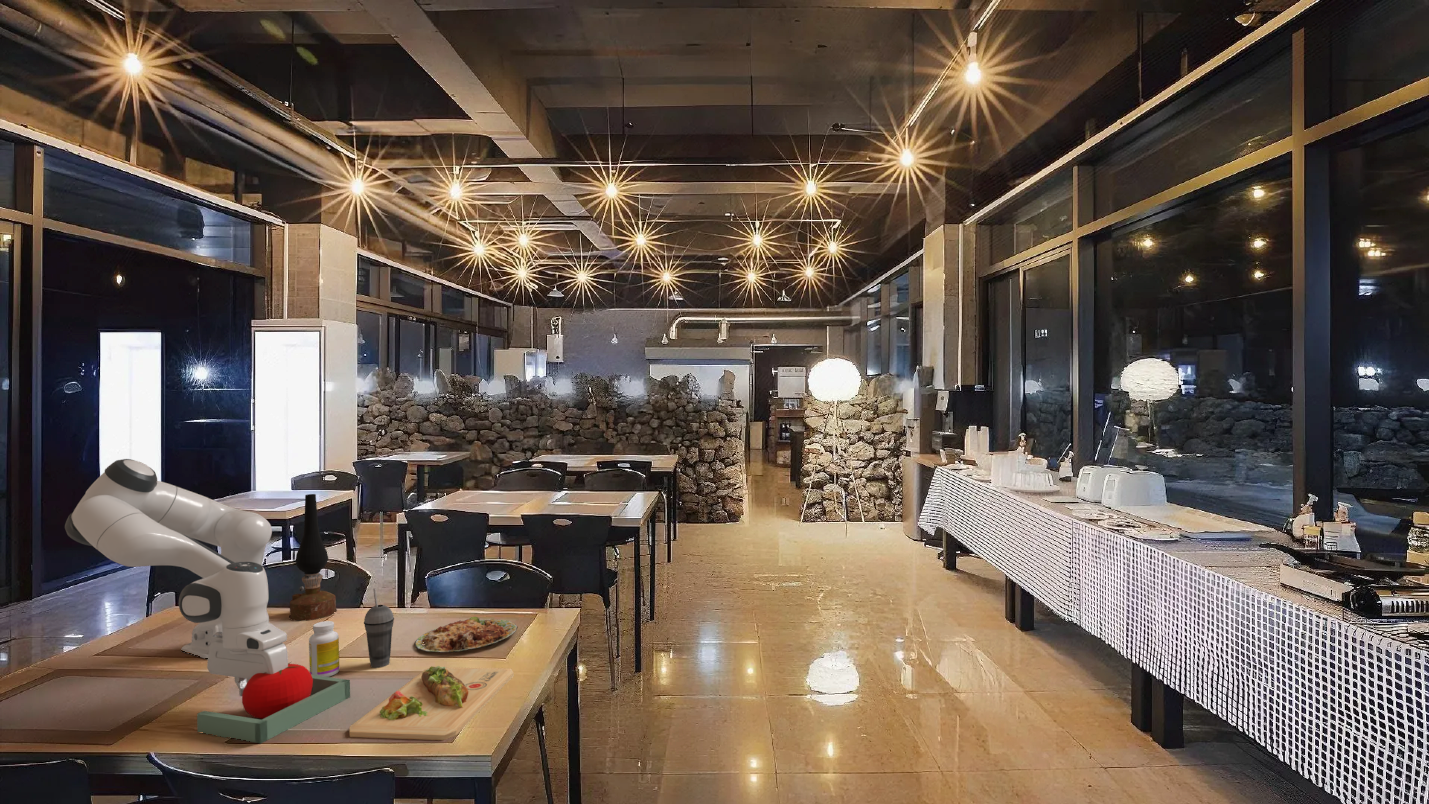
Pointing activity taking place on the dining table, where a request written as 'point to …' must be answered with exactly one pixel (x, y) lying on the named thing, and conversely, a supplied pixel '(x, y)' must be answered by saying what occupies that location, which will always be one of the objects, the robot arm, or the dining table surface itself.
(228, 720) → the corral
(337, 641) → the supplement bottle
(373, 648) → the beverage cup
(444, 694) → the cutting board
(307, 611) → the oil lamp
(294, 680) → the tomato
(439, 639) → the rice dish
